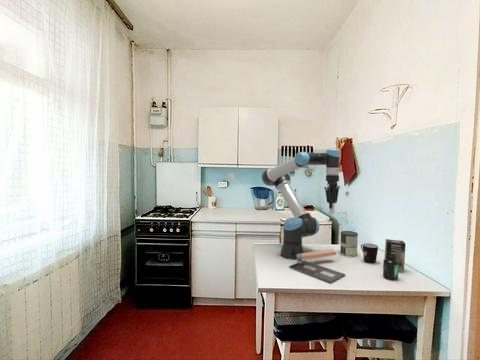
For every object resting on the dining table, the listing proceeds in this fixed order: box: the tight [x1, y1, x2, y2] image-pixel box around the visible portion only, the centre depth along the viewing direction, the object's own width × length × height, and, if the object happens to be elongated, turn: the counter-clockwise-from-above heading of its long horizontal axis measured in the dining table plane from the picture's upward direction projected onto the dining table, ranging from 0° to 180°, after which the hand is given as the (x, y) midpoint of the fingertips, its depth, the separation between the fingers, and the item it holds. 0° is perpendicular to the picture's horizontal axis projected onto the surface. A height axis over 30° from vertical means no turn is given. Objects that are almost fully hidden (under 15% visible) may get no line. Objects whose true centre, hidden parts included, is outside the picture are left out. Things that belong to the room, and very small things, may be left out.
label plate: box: [288, 259, 346, 284], centre depth 145 cm, size 26×14×4 cm, turn 40°
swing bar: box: [296, 248, 337, 261], centre depth 157 cm, size 26×4×3 cm, turn 111°
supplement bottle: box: [382, 254, 399, 281], centre depth 138 cm, size 7×7×12 cm
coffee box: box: [384, 238, 406, 274], centre depth 148 cm, size 9×6×16 cm
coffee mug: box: [360, 242, 379, 265], centre depth 162 cm, size 12×9×10 cm
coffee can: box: [340, 230, 359, 258], centre depth 174 cm, size 10×10×14 cm
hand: (331, 213), depth 162 cm, fingers closed
